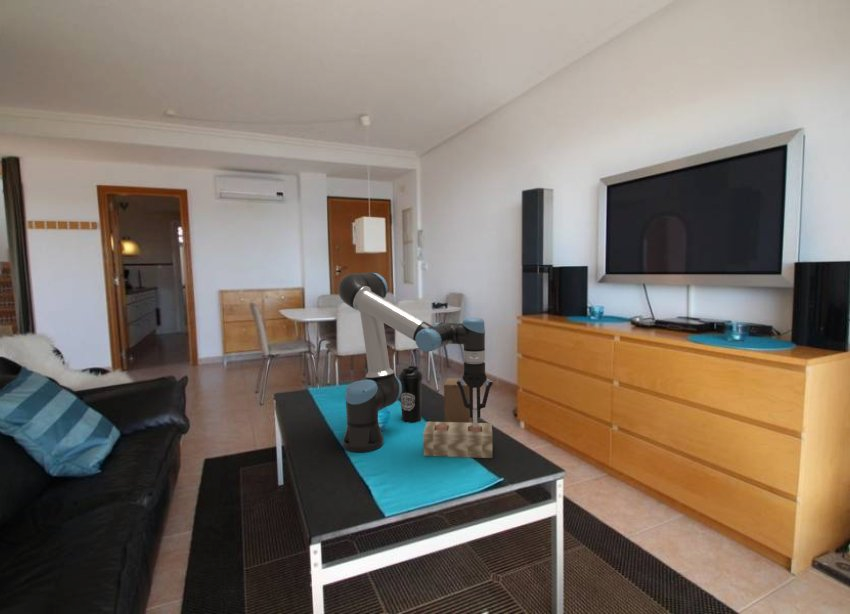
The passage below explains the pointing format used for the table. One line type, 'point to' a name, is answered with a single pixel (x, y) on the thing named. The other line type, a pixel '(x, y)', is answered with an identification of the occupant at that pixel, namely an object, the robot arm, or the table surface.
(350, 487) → the table surface
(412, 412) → the water bottle
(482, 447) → the socket board
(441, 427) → the peg
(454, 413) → the wooden block
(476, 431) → the peg
